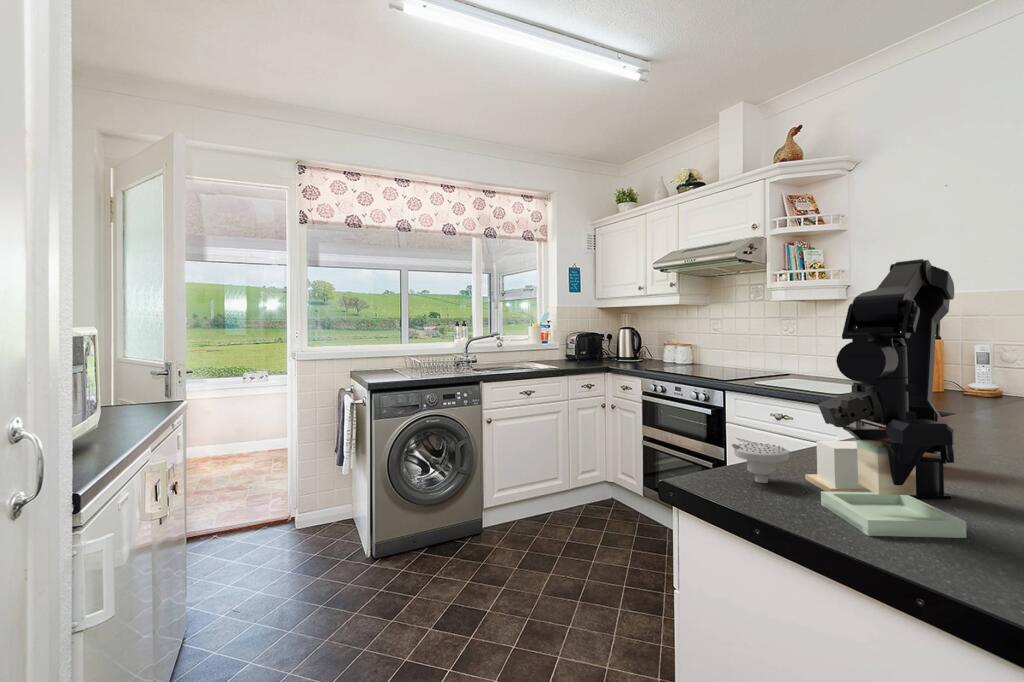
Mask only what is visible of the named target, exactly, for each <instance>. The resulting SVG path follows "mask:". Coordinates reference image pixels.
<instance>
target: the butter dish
mask: <svg viewBox="0 0 1024 682" xmlns="http://www.w3.org/2000/svg"><path fill="white" fill-rule="evenodd" d="M816 467H817V468H816V474H812V473H811V474H808V473H805V476H804V477H805V480H806V481H807V482H809V483H811V484H813V485H814V486H815V487H817V488H819V489H821V490H823V492H872V491H870V490H868V489H866V488H864V487H862V486H861V485H859V484H858V459H857V440H838V441H837V440H835V441H834V440H833V441H832V440H828V441H827V440H818V441H817V440H816Z"/></svg>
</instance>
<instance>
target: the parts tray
mask: <svg viewBox="0 0 1024 682" xmlns="http://www.w3.org/2000/svg"><path fill="white" fill-rule="evenodd" d="M820 504H821V506H822V507H824V508H825V509H827V510H829V511H830V512H831V513H833V514H834V515H836V516H838V517H839V518H840V519H842V520H844V521H845V522H847V523H848V524H849V525H851V526H853V527H854V528H856V529H857V530H859V532H862V533H863V534H864V535H866V536H868V537H869V536H870V537H904V538H905V537H911V538H912V537H913V538H914V537H915V538H955V539H958V538H959V539H962V538H963V539H964V538H965V539H967V521H965V520H963V519H961V518H959V517H957V516H954V515H953V514H951V513H949V512H946V511H943V510H941V509H939V508H937V507H935V506H933V505H931V504H929V503H926V502H924V501H922V500H920V499H917V498H914V497H911V496H909V495H878V494H876V493H874V492H826V491H824V490H823V491H820Z"/></svg>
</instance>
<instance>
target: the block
mask: <svg viewBox="0 0 1024 682" xmlns="http://www.w3.org/2000/svg"><path fill="white" fill-rule="evenodd" d="M856 441H857V459H858V484H859V485H861V486H862V487H864V488H866V489H868V490H870V491H872V492H874V493H876V494H878V495H916V469H915V467H914V469H913V470H912V472H911V473H910V475H909V476H908V478H907V479H906V481H905V483H904V484H903V485H894V484H893V480H892V476H891V470H890V463H889V456H888V450H887V448H886V447H885V446H884V445H882V444H881V443H880V442H879V441H878V440H856Z"/></svg>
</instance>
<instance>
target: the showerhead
mask: <svg viewBox="0 0 1024 682" xmlns="http://www.w3.org/2000/svg"><path fill="white" fill-rule="evenodd" d="M730 446H731V447H732V448H733V453H734V456H735V457H737V458H740V459H742V460H746V466H747V468H746V469H747V471H748V472H750V473H752V474H754V480H755V482H756V483H759V484H767V483H768V482H769V478H768V477H769V476H771V475H774V474H776V463H780V462H781V463H782V462H786V461H788V460H789V455H790V451H789V450H787V448H784V447H781V445H775V444H770V443H762V442H760V443H757V442H752V443H750V442H747V443H739V444H736V443H731V445H730Z"/></svg>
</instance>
